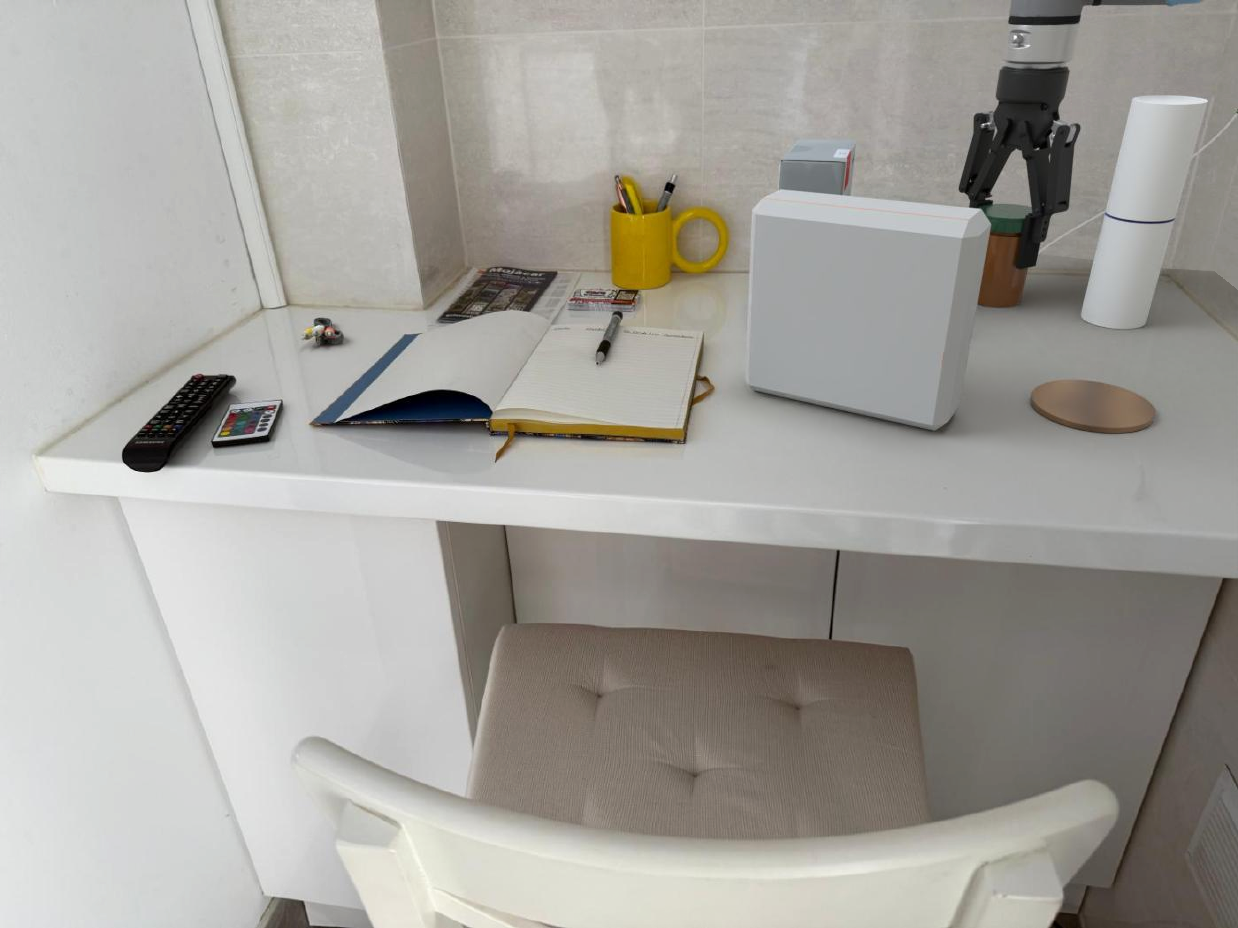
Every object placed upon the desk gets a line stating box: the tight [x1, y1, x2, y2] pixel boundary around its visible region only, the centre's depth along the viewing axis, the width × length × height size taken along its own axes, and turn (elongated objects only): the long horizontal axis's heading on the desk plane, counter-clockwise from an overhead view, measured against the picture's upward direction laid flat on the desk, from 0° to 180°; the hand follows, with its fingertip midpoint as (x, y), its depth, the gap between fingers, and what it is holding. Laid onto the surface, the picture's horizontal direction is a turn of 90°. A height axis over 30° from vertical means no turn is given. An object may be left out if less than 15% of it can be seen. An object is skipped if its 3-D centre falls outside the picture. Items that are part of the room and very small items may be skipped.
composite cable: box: [300, 317, 345, 347], centre depth 111 cm, size 10×5×2 cm, turn 9°
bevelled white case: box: [744, 189, 991, 432], centre depth 85 cm, size 21×8×20 cm, turn 57°
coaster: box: [1030, 379, 1157, 434], centre depth 86 cm, size 11×11×1 cm
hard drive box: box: [777, 138, 857, 196], centre depth 110 cm, size 16×8×20 cm, turn 162°
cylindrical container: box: [1080, 94, 1209, 330], centre depth 101 cm, size 7×7×25 cm
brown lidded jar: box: [977, 231, 1029, 308], centre depth 113 cm, size 7×7×10 cm
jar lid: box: [977, 203, 1032, 233], centre depth 110 cm, size 8×8×2 cm
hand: (999, 258), depth 113 cm, fingers closed on jar lid, 7 cm apart
